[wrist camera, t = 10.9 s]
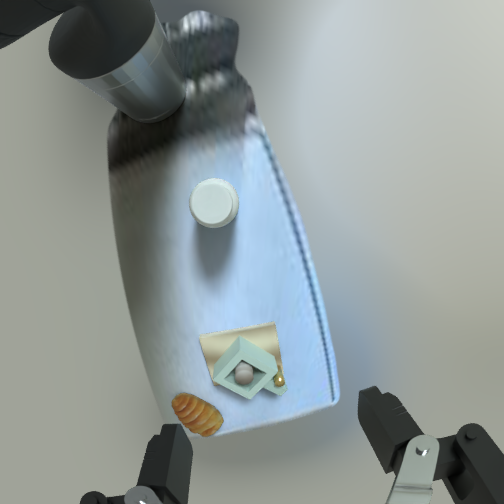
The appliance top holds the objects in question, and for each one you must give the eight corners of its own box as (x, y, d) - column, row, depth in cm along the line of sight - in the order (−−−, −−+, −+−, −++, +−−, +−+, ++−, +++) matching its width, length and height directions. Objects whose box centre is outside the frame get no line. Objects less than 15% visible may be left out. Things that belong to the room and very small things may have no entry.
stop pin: (271, 365, 40) (274, 380, 36) (280, 364, 40) (284, 378, 36) (272, 372, 40) (275, 387, 37) (281, 371, 40) (285, 385, 37)
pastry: (163, 400, 42) (159, 414, 38) (190, 384, 42) (187, 398, 38) (201, 429, 44) (200, 443, 40) (228, 414, 44) (228, 429, 40)
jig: (200, 334, 40) (195, 357, 34) (274, 321, 40) (280, 342, 34) (214, 381, 42) (212, 406, 35) (282, 369, 42) (289, 393, 36)
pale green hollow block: (214, 364, 39) (212, 380, 36) (239, 335, 39) (240, 349, 35) (268, 393, 41) (271, 409, 37) (294, 367, 40) (299, 382, 37)
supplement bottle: (235, 224, 37) (236, 235, 27) (195, 220, 36) (181, 229, 27) (240, 183, 36) (242, 179, 26) (199, 179, 35) (187, 173, 26)
